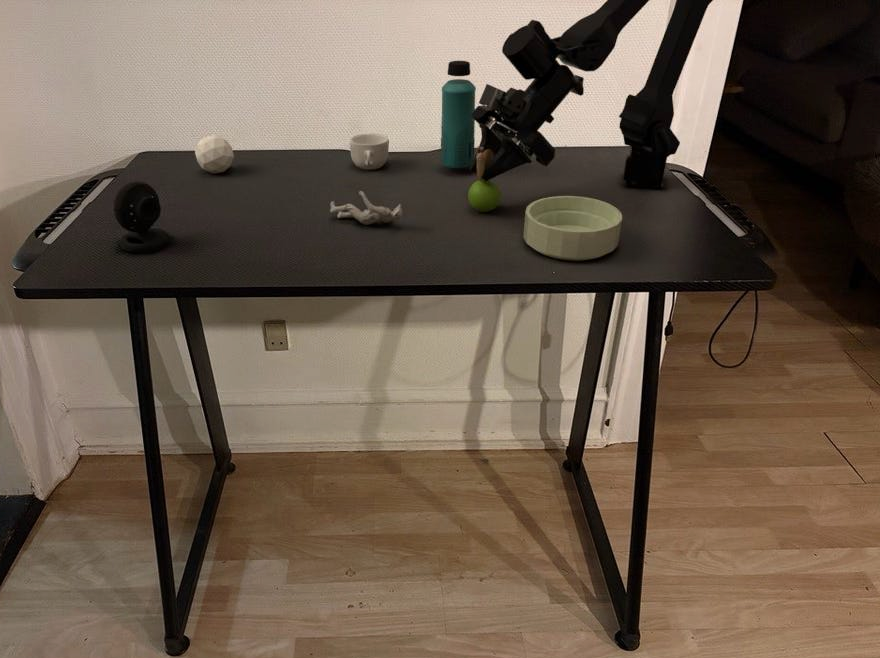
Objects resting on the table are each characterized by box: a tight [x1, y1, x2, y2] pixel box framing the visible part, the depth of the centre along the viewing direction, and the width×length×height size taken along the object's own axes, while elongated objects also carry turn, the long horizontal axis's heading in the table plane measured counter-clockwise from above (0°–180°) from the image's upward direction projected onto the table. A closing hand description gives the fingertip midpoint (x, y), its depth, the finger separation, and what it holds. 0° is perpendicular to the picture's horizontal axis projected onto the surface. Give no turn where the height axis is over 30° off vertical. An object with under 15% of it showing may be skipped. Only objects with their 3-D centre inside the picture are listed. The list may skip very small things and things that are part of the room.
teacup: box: [349, 132, 390, 171], centre depth 142 cm, size 10×8×5 cm
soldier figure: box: [330, 190, 403, 226], centre depth 119 cm, size 8×5×12 cm
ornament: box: [194, 132, 235, 175], centre depth 141 cm, size 7×7×8 cm
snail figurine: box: [467, 146, 502, 213], centre depth 120 cm, size 5×6×12 cm
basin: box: [523, 195, 623, 261], centre depth 111 cm, size 14×14×5 cm
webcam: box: [113, 180, 170, 254], centre depth 111 cm, size 8×8×10 cm
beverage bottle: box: [440, 60, 477, 169], centre depth 136 cm, size 6×7×20 cm
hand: (477, 175), depth 119 cm, fingers closed on snail figurine, 4 cm apart
